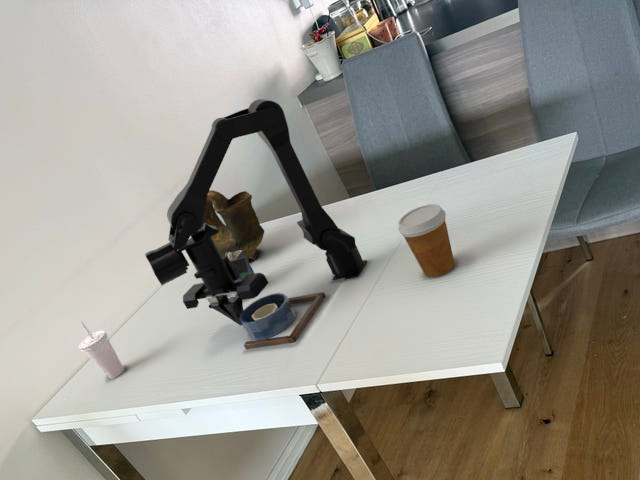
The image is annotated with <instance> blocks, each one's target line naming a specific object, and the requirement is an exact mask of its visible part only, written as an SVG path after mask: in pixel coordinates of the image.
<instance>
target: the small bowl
mask: <svg viewBox="0 0 640 480" xmlns="http://www.w3.org/2000/svg"><path fill="white" fill-rule="evenodd" d="M277 309H279V308H278V306H277V305H276V304H275V303H273V304H267V305H265V306H263V307H261V308H259V309H257V310H256V311H255V312H254V314H253V315H252V318H253V320H254V321H257V320H260V319H262V318H265V317H267V316H268V315H270V314H272V313H274V312H275V311H276V310H277Z"/></svg>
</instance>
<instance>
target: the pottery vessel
mask: <svg viewBox="0 0 640 480" xmlns="http://www.w3.org/2000/svg"><path fill="white" fill-rule="evenodd" d="M252 198H253V195H252V194H250V193H249V192H248V191H246V190H244V191H240V192H238V193H236V194H234V195H232V196H231V197H230V198H227V197H226V196H225V195H224V194H222V193H221V192H219V191H217V190H213V189H210V190H209V192H208V195H207V199H206V206H205V212H204V216H203V220H202V224H201V227H200V229H199V230H201V229H202V228H203V224H204V223H207V224H208V225H212V226H215V227H216V228H217V229H218V230H219V232H218V233H217V234H215V235H213V236H211V238H212V240H213V241H214V243H215V245H216V247H217V249H218V251H219V253H220V254H221V256H222V257H227V258H228V256H227V255H226V256H225V254H226V253H227V252H228V253H229V252H231V253H232V252H233V253H232V254H234V252H236V251H239V250H243V252H244V254H245V256H246V258H247V260H248V261H249V260H250V259H252V260H256V258H257V257H258V256H259V255H261V250H260V249H258V248H259V246H260V245H261V243H262V241H263V238H264V235H265V229H264V228H263V226H262V225H261V224H260V221H259V218H258V215H257V213H256V211H255V209H254V207H253V204H252ZM219 215H220V217H221V218H222V220H223V221H222V220H221V218H220V217H219ZM199 230H198V231H199ZM228 253H227V254H228Z"/></svg>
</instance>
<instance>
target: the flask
mask: <svg viewBox="0 0 640 480" xmlns="http://www.w3.org/2000/svg"><path fill="white" fill-rule="evenodd" d="M227 253H228V252H227ZM227 253H226V254H225V256H226V255H227V256H228V259H229V260H234V259H239V258H245V259H246V263H247V267H248V271H249V272H247V273H246V272H244V273H241V274H239V275H240V278H239V279H238V280H235V282H240V281H242V280H243V279H244V278H245V276H246V275H250V274H255V272H254V270H253V268H252V266H251V264H250V261H249V260H247V258H246V256H245V254H244V252H243V250H239V251H236V252H234V254H232V253H233V252H232V253H231V252H229V253H228V254H227Z"/></svg>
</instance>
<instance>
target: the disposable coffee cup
mask: <svg viewBox="0 0 640 480" xmlns="http://www.w3.org/2000/svg"><path fill="white" fill-rule="evenodd" d="M446 215H447V212H446V211H445V210H444V209H443V208H442V206H441V205H440V204H437V203H433V204H432V203H429V204H425V205H424V204H423V205H421V206H418V207H415V208H413V209H411V210H409V211H408V212H406V213H405V214H403V215H402V216H401V218H399V220H398V229H397V231H398V232H399V234H401V235H402V237H403V238H404V240H405V242H406V243H407V245H408V247H409V249H410V251H411V253H412V254H413V256H414V258H415V260H416V262H417V263H418V265H419V267H420V268H421V270H422V272H423V274H424V276H425V277H427V278H437V277H442V276H444V275H445V274H448V273H449V272H450V271H452V270H454V267H455V263H456V262H455V259H454V254H453V249H452V244H451V240H450V235H449V231H448V225H447V223H446Z"/></svg>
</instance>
